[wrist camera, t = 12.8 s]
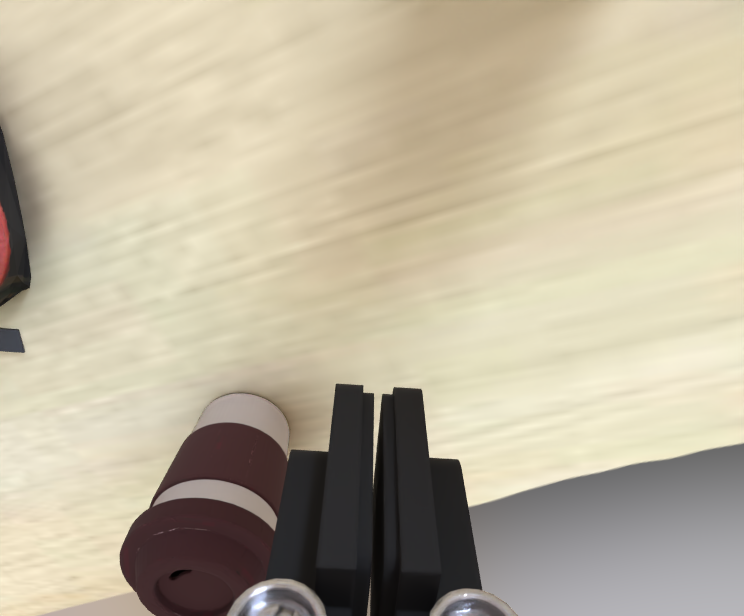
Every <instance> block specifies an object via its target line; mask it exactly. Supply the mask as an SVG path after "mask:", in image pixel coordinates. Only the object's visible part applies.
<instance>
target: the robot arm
mask: <svg viewBox="0 0 744 616" xmlns="http://www.w3.org/2000/svg"><path fill="white" fill-rule="evenodd" d="M373 431H374V393H363V385H349V384H336V388H335V397H334V406H333V415H332V424H331V433H330V443H329V452H322V451H305V450H291V452H290V456H289V460H288V465H287V471H286V476H285V481H284V486H283V491H282V497H281V502H280V507H279V512H278V517H277V523H276V528H275V533H274V538H273V544H272V549H271V554H270V559H269V564H268V570H267V575H266V580H265V581H262V582H260V583H258V584H256V585H254V586H252V587H250V588H249V589H247V590H246V591H245V592H244V593H243V594H242V595H240V596H239V597H238V598H237V599H236V600H235V602H234V603H233V605H232V607H231V608H230V610H229V612H228V614H227V616H367V607H368V598H369V588H370V579H371V600H370V616H518V615H517V614H516V613H515V612H514V611H513V610H512V609H511V608H510V606H509V605H508V604H507V603H505V602H504V601H502V600H501V599H499V598H498V597H496V596H494V595H493V594H490V593H487V592H485V591H482V586H481V580H480V574H479V568H478V562H477V556H476V550H475V545H474V539H473V533H472V527H471V522H470V515H469V510H468V504H467V498H466V492H465V486H464V480H463V474H462V469H461V465H460V462H459V460H457V459H440V458H429V451H428V441H427V432H426V423H425V413H424V404H423V394H422V390H421V389H413V388H397V387H394V388H393V394H392V395H390V394H382V402H381V412H380V422H379V433H378V443H377V453H376V463H375V473H374V484H373Z"/></svg>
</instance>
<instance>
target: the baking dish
mask: <svg viewBox="0 0 744 616" xmlns="http://www.w3.org/2000/svg"><path fill="white" fill-rule="evenodd" d="M30 280H31V273H30V266H29V258H28V250H27V243H26V237H25V231H24V226H23V221H22V216H21V211H20V206H19V201H18V196H17V191H16V186H15V181H14V176H13V172H12V168H11V164H10V160H9V156H8V152H7V148H6V144H5V140H4V136H3V132H2V129H1V127H0V306H2V305H3V304H5V303H6V302H7V301H9V300H10V299H11V298H13V297H14V296H16V295H17V294H18V293H20V292H21V291H23V290H25V289H28V288H30Z"/></svg>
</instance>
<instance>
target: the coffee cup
mask: <svg viewBox="0 0 744 616" xmlns="http://www.w3.org/2000/svg"><path fill="white" fill-rule="evenodd" d="M288 444H289V426H288V423H287V420H286V418H285V416H284V415H283V413H282V412H281V411H280V410H279V409H278V408H277V407H276V406H275V405H274V404H272V403H271V402H269V401H268V400H266V399H264V398H261V397H259V396H255V395H251V394H242V393H237V394H229V395H226V396H222V397H220V398H218V399H216V400H214V401H213V402H211V403H210V404H209V405H208V406H207V407H206V408H205V410H204V411H203V413H202V415H201V416H200V418H199V420H198V422H197V424H196V426H195V428H194V430H193V431H192V433H191V434H190V435H189V436H188V437H187V439H186V440H185V441H184V443H183V444H182V446H181V448H180V449H179V451H178V453H177V455H176V457H175V459H174V460H173V462H172V464H171V466H170V468H169V470H168V471H167V473H166V475H165V477H164V479H163V481H162V482H161V484H160V486H159V488H158V490H157V492H156V494H155V495H154V497H153V499H152V502H151V504H150V508H149V509H148V510H146V511H145V512H143V513H142V514H141V515H140V516H139V517H138V518H137V519H136V520H135V521H134V523H133V524H132V526H131V528H130V530H129V532H128V534H127V536H126V538H125V541H124V543H123V545H122V548H121V551H120V566H121V570H122V573H123V575H124V577H125V579H126V581H127V582H128V583H129V585H130V586H131V587H132V588H133V590H134V591H135V592H137V594H138V597H139V599H140V601H141V602H142V603H143V605H144V606H145V607H146V608H147V609H148V610H149V611H150V612H151V613H153V614H154V615H156V616H227V614H228V612H229V610H230V608H231V607H232V605H233V603H234V602H235V600H236V599H237V598H238V597H239V596H240V595H242V594H243V593H244V592H245V591H246V590H247V589H249V588H250V587H252V586H254V585H256V584H258V583H260V582H262V581H265V580H266V575H267V570H268V564H269V559H270V554H271V549H272V544H273V538H274V533H275V528H276V523H277V517H278V512H279V507H280V502H281V497H282V491H283V486H284V481H285V476H286V471H287V465H288V461H287V453H288Z"/></svg>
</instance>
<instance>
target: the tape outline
mask: <svg viewBox="0 0 744 616" xmlns="http://www.w3.org/2000/svg"><path fill="white" fill-rule="evenodd" d="M0 351H5V352H21V353H24V352H25V351H24V347H23V344H22V340H21V337H20V333H19V330H15V329H0Z"/></svg>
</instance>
